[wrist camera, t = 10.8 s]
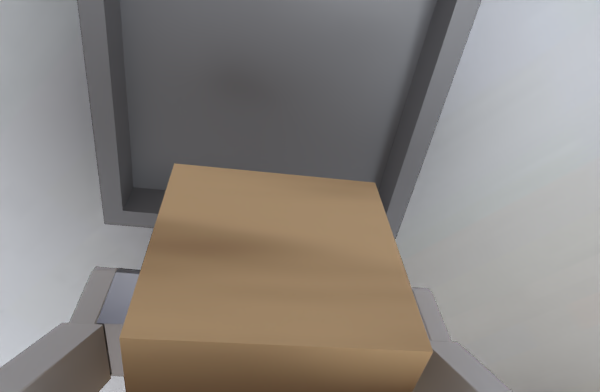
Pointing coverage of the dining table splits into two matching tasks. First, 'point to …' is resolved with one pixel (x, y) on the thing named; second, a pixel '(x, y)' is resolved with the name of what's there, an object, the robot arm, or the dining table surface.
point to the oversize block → (271, 290)
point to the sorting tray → (266, 91)
